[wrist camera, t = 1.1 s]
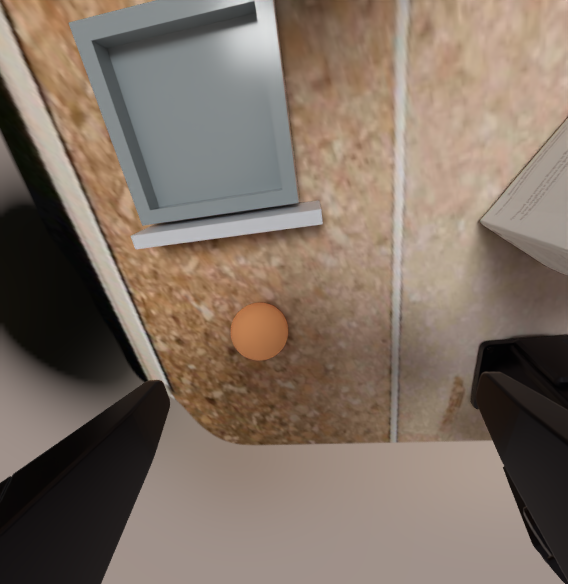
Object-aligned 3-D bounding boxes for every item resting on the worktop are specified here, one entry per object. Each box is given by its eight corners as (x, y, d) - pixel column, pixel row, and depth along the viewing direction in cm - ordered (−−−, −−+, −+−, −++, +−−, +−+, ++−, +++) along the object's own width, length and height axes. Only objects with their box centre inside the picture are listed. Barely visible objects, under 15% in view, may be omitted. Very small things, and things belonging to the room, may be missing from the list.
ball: (293, 335, 23) (290, 371, 19) (243, 340, 23) (232, 374, 20) (285, 290, 21) (280, 319, 17) (232, 295, 21) (217, 325, 18)
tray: (299, 197, 18) (298, 202, 16) (156, 219, 19) (142, 225, 18) (273, -9, 14) (269, -29, 12) (94, 36, 15) (68, 22, 14)
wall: (320, 213, 18) (322, 224, 16) (159, 235, 20) (135, 249, 17) (319, 200, 18) (321, 209, 15) (155, 224, 19) (130, 236, 17)
